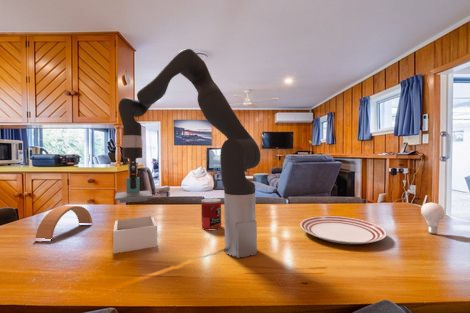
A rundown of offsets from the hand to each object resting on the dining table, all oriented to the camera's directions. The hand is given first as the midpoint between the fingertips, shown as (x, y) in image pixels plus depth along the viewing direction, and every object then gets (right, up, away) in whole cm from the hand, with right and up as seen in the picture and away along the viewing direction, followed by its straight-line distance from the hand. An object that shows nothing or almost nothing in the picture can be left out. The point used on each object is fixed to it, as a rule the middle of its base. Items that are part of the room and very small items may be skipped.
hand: (133, 188), depth 98 cm
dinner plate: (+80, -15, -15) cm, 83 cm away
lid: (+3, -4, -6) cm, 7 cm away
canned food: (+33, -15, -5) cm, 37 cm away
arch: (-21, -16, -9) cm, 28 cm away
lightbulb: (+112, -14, -16) cm, 114 cm away
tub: (+10, -15, -22) cm, 29 cm away
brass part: (+7, -14, -21) cm, 26 cm away
